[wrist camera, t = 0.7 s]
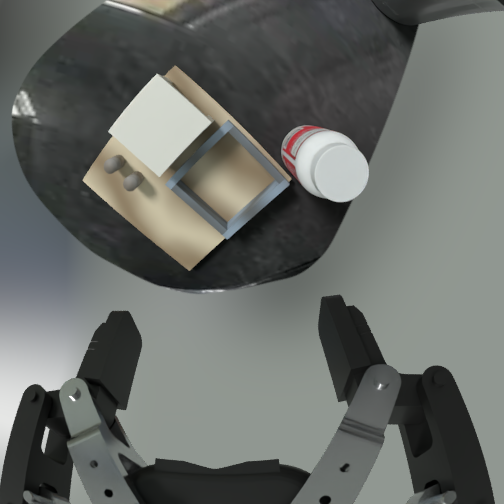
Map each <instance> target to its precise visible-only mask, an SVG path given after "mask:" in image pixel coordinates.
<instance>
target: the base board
mask: <svg viewBox="0 0 504 504" xmlns="http://www.w3.org/2000/svg"><path fill="white" fill-rule="evenodd" d="M164 77H166V78H168V79H170V80H171V81H172V82H173V83H172V84H171V85H172V86H173V87H175V88H176V89H177V90H178V91H179V92H180V93H181V94H183V95H184V96H185V97H186V98H187V99H188V100H189V101H190V102H191V103H193V104H194V105H195V106H196V107H197V108H198V109H199V110H200V111H201V112H202V113H203V114H205V115H206V116H208V115H210V116H211V117H212V118H213V119H214V120H215V121H213V122H212V123H211V124H210V125H209V126H208V127H207V128H206V129H205V130H204V131H203V132H202V133H201V134H200V135H199V136H198V137H197V138H196V139H195V140H194V141H193V142H192V143H191V144H190V145H189V146H188V147H187V148H186V149H185V151H184V152H183V153H182V154H181V155H180V156H179V157H178V158H177V159H176V160H175V161H174V162H173V163H172V164H171V166H170V167H169V168H168V169H167V170H166V171H165V172H164V173H163V174H162V175H161V176H160V177H158V176H157V175H156V174H155V173H154V172H153V171H152V170H151V169H149V168H148V167H147V166H146V165H145V164H144V163H143V162H142V161H141V160H139V159H138V158H137V157H136V156H135V155H134V154H133V153H132V152H130V151H129V150H128V149H127V148H126V147H125V146H124V145H123V144H122V143H120V142H119V141H118V140H117V139H116V138H115V137H114V136H113V137H112V138H111V139H110V141H109V142H108V143H107V145H106V146H105V147H104V149H103V150H102V152H101V153H100V155H99V156H98V157H97V159H96V160H95V162H94V163H93V165H92V166H91V168H90V169H89V171H88V172H87V174H86V176H85V177H84V179H83V181H84V182H85V183H86V184H87V185H88V186H89V187H90V188H91V189H92V190H94V191H95V192H96V193H97V194H98V195H99V196H100V197H101V198H103V199H104V200H105V201H106V202H107V203H108V204H109V205H110V206H112V207H113V208H114V209H115V210H116V211H117V212H118V213H120V214H121V215H122V216H123V217H124V218H125V219H127V220H128V221H129V222H130V223H131V224H133V225H134V226H135V227H136V228H137V229H138V230H140V231H141V232H142V233H143V234H144V235H146V236H147V237H148V238H149V239H150V240H152V241H153V242H154V243H155V244H157V245H158V246H159V247H160V248H161V249H163V250H164V251H165V252H166V253H168V254H169V255H170V256H171V257H173V258H174V259H175V260H176V261H178V262H179V263H180V264H181V265H183V266H184V267H185V268H187V269H188V270H189V271H190V270H191V269H192V268H193V267H194V266H195V265H196V264H197V263H198V262H199V261H201V260H202V259H203V258H204V257H205V256H206V255H207V254H208V253H209V252H210V251H211V250H213V249H214V248H215V247H216V246H217V245H218V244H219V243H220V242H221V241H222V240H223V239H225V238H226V239H227V240H228V239H229V238H230V237H231V236H232V235H233V234H234V233H235V232H236V231H238V230H239V229H240V228H241V227H242V226H243V225H244V224H245V223H247V222H248V221H249V220H250V219H251V218H252V217H253V216H254V215H256V214H257V213H258V212H259V211H260V210H261V209H262V208H264V207H265V206H266V205H267V204H268V203H269V202H270V201H272V200H273V199H274V198H275V197H276V196H277V195H278V194H280V193H281V192H282V191H283V190H284V189H285V188H287V187H288V186H289V185H290V184H289V181H290V180H291V178H290V176H289V175H288V174H287V173H286V172H285V171H284V170H283V169H282V168H281V166H280V165H279V164H278V163H277V162H276V161H275V160H274V159H273V158H272V157H271V156H270V155H269V154H268V153H267V152H266V150H265V149H264V148H263V147H262V146H261V145H260V144H259V143H258V142H257V141H256V140H255V139H254V138H253V137H252V136H251V135H250V134H249V133H248V132H247V131H246V130H245V129H244V128H243V127H242V126H241V125H240V124H239V123H238V122H237V121H236V120H235V119H234V118H233V117H232V116H231V115H230V114H229V113H228V112H227V111H226V110H225V109H223V108H222V107H221V106H220V105H219V104H218V103H217V102H216V101H215V100H214V99H213V98H212V97H211V96H210V95H209V94H207V93H206V92H205V91H204V90H203V89H202V88H201V87H200V86H199V85H197V84H196V83H195V82H194V81H193V80H192V79H191V78H190V77H188V76H187V75H186V74H185V73H184V72H183V71H181V70H180V69H179V68H178V67H177V66H174V67H173V68H172V69H171V70H170V71H169V72H168V73H167V74H166V75H165V76H164Z"/></svg>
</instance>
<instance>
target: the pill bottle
mask: <svg viewBox="0 0 504 504" xmlns="http://www.w3.org/2000/svg"><path fill="white" fill-rule="evenodd" d="M281 155H282V159H283V162H284V164H285V166H286V167H287V169H288V170H289V171H290V172H291V173H292V174H293V176H294V177H295V178H296V179H297V180H298V181H299V183H300V184H301V185H302V186H303V187H304V188H305V189H306V190H307V191H308V192H310V193H311V194H313V195H315V196H318V197H321V198H327V199H329V200H331V201H335V202H347V201H350V200H352V199H354V198H356V197H357V196H358V195H359V194H360V193H361V192H362V191H363V190H364V188H365V186H366V184H367V181H368V177H369V168H368V164H367V161H366V159H365V157H364V156H363V154H362V153H361V152H360V151H359V150H358V148H357V147H356V145H355V144H354V143H353V142H352V141H351V140H350V139H349V138H348V137H347V136H345V135H343V134H341V133H338V132H335V131H331V130H328V129H324V128H320V127H316V126H310V125H305V126H300V127H297V128H295V129H293V130H292V131H291V132H289V133H288V135H287V136H286V137H285V139H284V141H283V143H282V148H281Z"/></svg>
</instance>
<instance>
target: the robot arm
mask: <svg viewBox="0 0 504 504" xmlns="http://www.w3.org/2000/svg"><path fill="white" fill-rule="evenodd" d="M372 1H373V2H374V3H375V5H376V6H377V7H378V8H379V9H380V10H381V11H382V12H383V13H384V14H385V15H386V16H388V17H389V18H391V19H392V20H394V21H396V22H398V23H400V24H404V25H411V26H413V25H417V24H421V23H425V22H429V21H434V20H438V19H444V18H449V17H454V16H459V15H466V14H474V13H482V12H492V11H504V0H372ZM318 330H319V336H320V340H321V343H322V346H323V350H324V353H325V357H326V360H327V363H328V367H329V370H330V374H331V377H332V380H333V385H334V388H335V392H336V395H337V399H338V402H341V401H346V400H347V404H348V407H349V408H348V410H347V412H346V414H345V416H344V418H343V420H342V422H341V424H340V426H339V427H338V429H337V431H336V433H335V435H334V437H333V438H332V440H331V442H330V444H329V445H328V447H327V449H326V451H325V452H324V454H323V456H322V457H321V459H320V461H319V462H318V464H317V465H316V467H315V469H314V470H313V472H312V473H311V474H310V473H308V472H307V471H304V470H302V469H300V468H297V467H293V466H289V465H282V464H279V459H274V460H263V461H248V462H244V463H240V464H236V465H232V466H228V467H224V468H219V469H211V468H207V467H203V466H199V465H196V464H192V463H188V462H185V461H177V460H165V459H157V458H156V460H155V464H154V465H149V466H148V465H147V464H146V463H145V461H144V460H143V459H142V458H141V457H140V456H139V455H138V453H137V452H136V451H135V449H134V448H133V446H132V444H131V442H130V441H129V439H128V437H127V435H126V433H125V431H124V429H123V428H122V426H121V424H120V422H119V420H118V418H117V416H116V415H115V414H116V410H117V409H121V410H126V408H127V404H128V399H129V395H130V391H131V387H132V383H133V379H134V375H135V371H136V367H137V363H138V359H139V356H140V352H141V348H142V339H141V335H140V333H139V331H138V329H137V327H136V325H135V322H134V320H133V318H132V316H131V314H130V313H129V311H112V312H111V313H110V314H109V316H108V319H107V321H106V323H102V324H101V325H100V326H99V328H98V329H97V330H96V331H95V333H94V335H93V337H92V340H91V343H90V344H89V347H88V350H87V352H86V354H85V356H84V359H83V361H82V364H81V366H80V369H79V371H78V374H77V377H76V378H73V379H70V380H68V381H66V382H65V383H64V384H63V386H62V387H61V389H60V390H55V391H49V392H46V391H45V390H44V389H43V388H42V387H41V386H40V385H37V384H34V385H31V386H29V387H28V388H27V389H26V390H25V392H24V393H23V396H22V399H21V402H20V405H19V408H18V411H17V414H16V417H15V420H14V424H13V427H12V431H11V434H10V438H9V442H8V446H7V451H6V456H5V460H4V465H3V471H2V477H1V484H0V504H70V502H69V496H70V485H71V477H72V470H73V463H74V465H75V467H76V470H77V472H78V474H79V476H80V479H81V481H82V483H83V485H84V488H85V490H86V492H87V494H88V496H89V498H90V500H91V502H92V504H353V503H354V501H355V500H356V498H357V496H358V494H359V492H360V491H361V489H362V487H363V485H364V483H365V481H366V479H367V477H368V475H369V473H370V471H371V469H372V467H373V465H374V463H375V461H376V459H377V457H378V454H379V452H380V450H381V448H382V445H383V442H384V438H385V437H384V431H385V429H386V426H387V424H398V426H399V429H400V433H401V437H402V440H403V444H404V448H405V452H406V456H407V461H408V465H409V469H410V474H411V479H412V484H413V488H414V495H413V496H412V497H411V498H410V499H409V500H408V501H407V503H406V504H495V502H494V497H493V491H492V487H491V482H490V478H489V475H488V470H487V467H486V463H485V460H484V456H483V453H482V450H481V446H480V443H479V440H478V437H477V434H476V432H475V429H474V426H473V423H472V421H471V418H470V415H469V413H468V410H467V408H466V405H465V403H464V400H463V398H462V396H461V393H460V391H459V389H458V386H457V384H456V382H455V380H454V378H453V376H452V374H451V373H450V372H449V370H447V369H446V368H444V367H442V366H431V367H429V368H428V369H426V370H425V372H424V373H423V374H422V375H420V374H400V373H398V372H397V370H396V369H394V368H393V367H391V366H389V365H387V364H386V362H385V360H384V358H383V356H382V354H381V351H380V349H379V347H378V345H377V343H376V341H375V338H374V336H373V334H372V333H371V330H370V328H369V326H368V325H367V322H366V319H365V317H364V315H363V313H362V312H360V311H359V310H358V309H357V308H356V307H355V306H354V305H353V306H346V305H345V302H344V300H343V298H342V296H341V295H334V296H326V297H322V299H321V306H320V314H319V322H318ZM45 427H48V428H49V429H50V430H49V434H48V439H47V443H46V448H45V453H43V452H42V449H41V444H42V439H43V435H44V431H45Z"/></svg>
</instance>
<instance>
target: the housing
mask: <svg viewBox="0 0 504 504" xmlns="http://www.w3.org/2000/svg"><path fill="white" fill-rule="evenodd" d="M172 83H173V82H172V81H171V80H170V79H168V78H166V77H164V76H162V75H159V74H156V75H155V76H154V77H153V78H152V79H151V81H150V82H149V83H148V84H147V85H146V86H145V87H144V88H143V89H142V90H141V91H140V93H139V94H138V95H137V96H136V97H135V98H134V100H133V101H132V102H131V103H130V104H129V105H128V107H127V108H126V109H125V110H124V112H123V113H122V114H121V115H120V117H119V118H118V119H117V120H116V122H115V123H114V124H113V126H112V127H111V128H110V130H109V131H108V132H109V133H110V134H112V135H113V136H114V137H115V138H116V139H117V140H118V141H119V142H120V143H122V144H123V145H124V146H125V147H126V148H127V149H128V150H129V151H130V152H132V153H133V154H134V155H135V156H136V157H137V158H138V159H139V160H141V161H142V162H143V163H144V164H145V165H146V166H147V167H148V168H149V169H151V170H152V171H153V172H154V173H155V174H156V175H157V176H158V177H160V176H161V175H162V174H163V173H164V172H165V171H166V170H167V169H168V168H169V167H170V166H171V164H172V163H173V162H174V161H175V160H176V159H177V158H178V157H179V156H180V155H181V154H182V153H183V152H184V151H185V149H186V148H187V147H188V146H189V145H190V144H191V143H192V142H193V141H194V140H195V139H196V138H197V137H198V136H199V135H200V134H201V133H202V132H203V131H204V130H205V129H206V128H207V127H208V126H209V125H210V124H211V123H212V122H213V121H215V120H214V119H213V118H212V117H211V116H210V115H208V116H206V115H205V114H203V113H202V112H201V111H200V110H199V109H198V108H197V107H196V106H195V105H194V104H193V103H191V102H190V101H189V100H188V99H187V98H186V97H185V96H184V95H183V94H181V93H180V92H179V91H178V90H177V89H176V88H175V87H173V86H172V85H171V84H172Z"/></svg>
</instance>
